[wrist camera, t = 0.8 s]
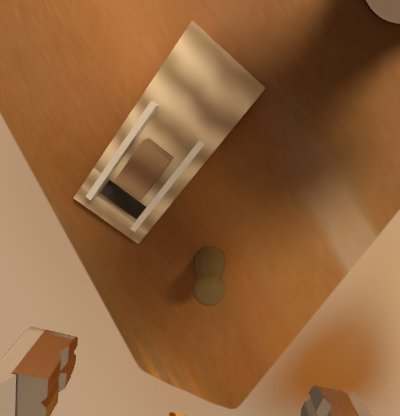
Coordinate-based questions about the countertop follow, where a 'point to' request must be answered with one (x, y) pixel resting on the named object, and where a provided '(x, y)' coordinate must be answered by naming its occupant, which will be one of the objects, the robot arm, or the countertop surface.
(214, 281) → the cork
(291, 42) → the countertop surface
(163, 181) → the board
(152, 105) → the channel walls
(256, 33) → the countertop surface
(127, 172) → the walnut block
